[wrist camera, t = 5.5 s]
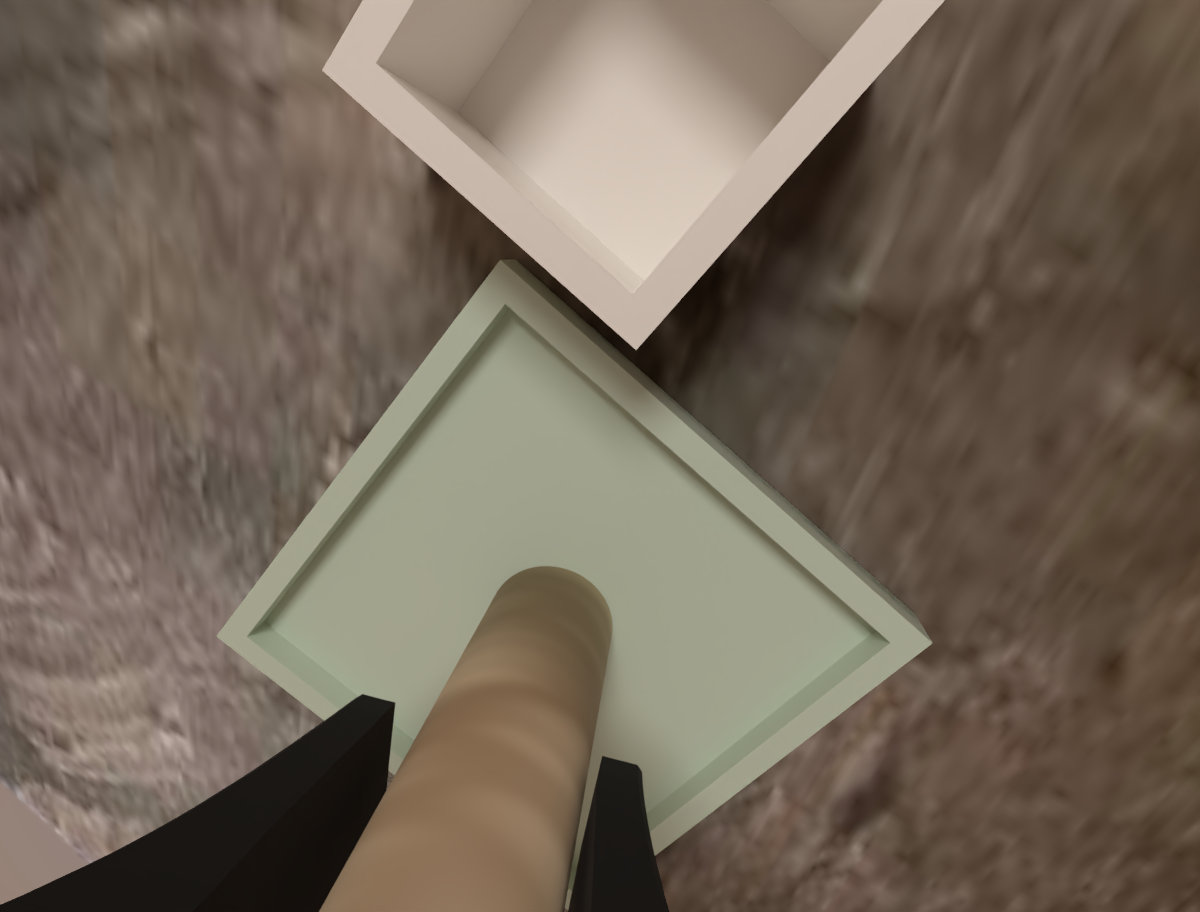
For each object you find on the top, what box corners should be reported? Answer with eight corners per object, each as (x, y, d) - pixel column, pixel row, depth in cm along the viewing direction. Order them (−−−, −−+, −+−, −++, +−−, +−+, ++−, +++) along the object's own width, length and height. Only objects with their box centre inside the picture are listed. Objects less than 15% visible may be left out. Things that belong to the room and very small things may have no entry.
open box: (876, 68, 12) (958, -17, 8) (651, 324, 14) (635, 350, 10) (625, -180, 12) (590, -390, 8) (427, 122, 14) (322, 69, 10)
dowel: (621, 579, 15) (556, 968, 7) (602, 688, 16) (520, 1157, 8) (497, 555, 16) (277, 904, 7) (484, 664, 16) (273, 1096, 8)
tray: (914, 613, 15) (932, 643, 14) (582, 877, 19) (575, 916, 18) (516, 259, 14) (500, 259, 13) (247, 611, 18) (216, 636, 17)
